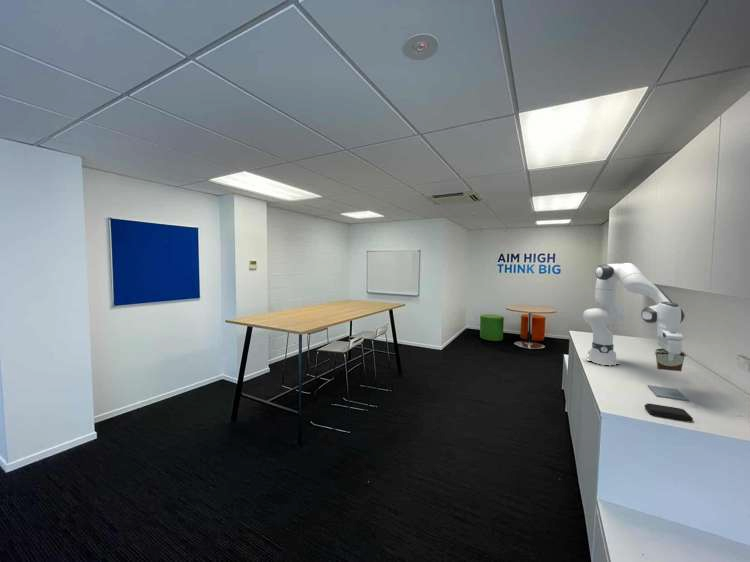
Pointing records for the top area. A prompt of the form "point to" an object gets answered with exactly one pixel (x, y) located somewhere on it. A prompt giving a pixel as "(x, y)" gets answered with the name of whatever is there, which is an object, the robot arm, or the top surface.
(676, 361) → the food container
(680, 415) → the carrying case or bag
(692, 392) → the top surface
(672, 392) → the slate mat
